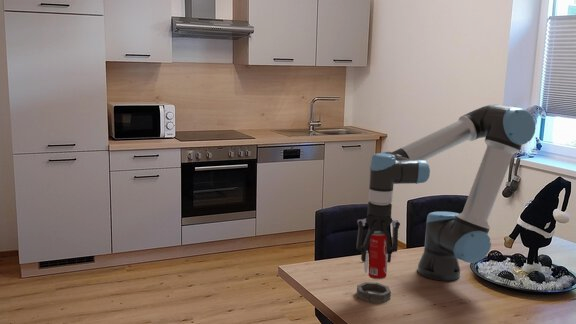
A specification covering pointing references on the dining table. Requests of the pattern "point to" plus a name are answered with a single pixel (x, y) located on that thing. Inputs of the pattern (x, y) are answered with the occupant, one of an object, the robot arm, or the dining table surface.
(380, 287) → the collar
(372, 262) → the beverage can
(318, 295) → the dining table surface
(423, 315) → the dining table surface
